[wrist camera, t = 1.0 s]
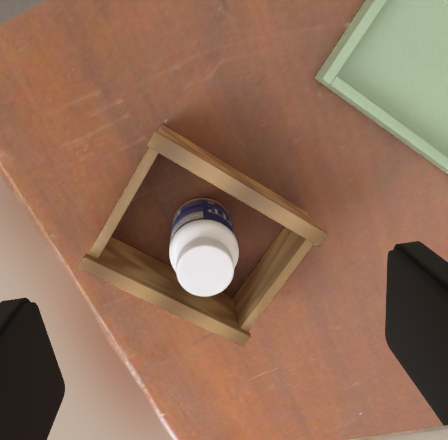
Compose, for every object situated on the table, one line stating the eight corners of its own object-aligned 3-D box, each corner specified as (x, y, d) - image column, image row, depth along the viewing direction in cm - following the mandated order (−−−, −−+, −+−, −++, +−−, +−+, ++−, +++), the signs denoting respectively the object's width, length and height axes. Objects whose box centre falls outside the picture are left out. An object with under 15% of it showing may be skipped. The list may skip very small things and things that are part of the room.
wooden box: (94, 238, 35) (77, 269, 29) (160, 120, 31) (154, 130, 26) (236, 309, 38) (243, 347, 33) (308, 210, 35) (328, 234, 30)
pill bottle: (242, 230, 36) (258, 279, 27) (196, 261, 36) (197, 318, 28) (208, 184, 34) (214, 222, 25) (160, 218, 34) (150, 265, 26)
